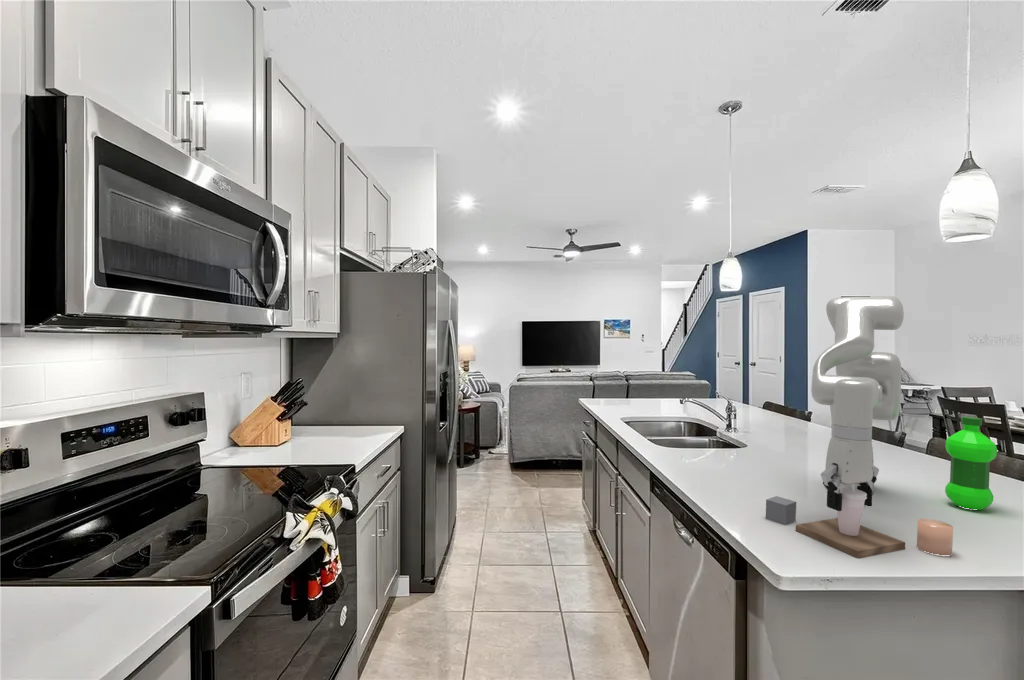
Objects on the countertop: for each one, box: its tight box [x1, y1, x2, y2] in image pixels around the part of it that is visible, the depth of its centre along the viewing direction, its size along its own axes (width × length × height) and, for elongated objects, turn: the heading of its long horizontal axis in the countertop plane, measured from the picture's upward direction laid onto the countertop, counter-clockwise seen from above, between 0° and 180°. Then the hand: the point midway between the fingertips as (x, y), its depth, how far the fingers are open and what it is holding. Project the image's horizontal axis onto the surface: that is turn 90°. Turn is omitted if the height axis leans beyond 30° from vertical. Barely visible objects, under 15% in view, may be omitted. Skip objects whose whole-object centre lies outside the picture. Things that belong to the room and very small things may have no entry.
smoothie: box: [836, 484, 867, 536], centre depth 115 cm, size 6×6×14 cm
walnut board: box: [795, 517, 906, 559], centre depth 115 cm, size 15×15×2 cm
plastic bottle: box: [944, 416, 998, 511], centre depth 137 cm, size 10×10×25 cm
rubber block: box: [765, 495, 797, 526], centre depth 126 cm, size 5×5×5 cm
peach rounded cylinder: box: [916, 518, 954, 555], centre depth 109 cm, size 6×6×6 cm
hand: (849, 506), depth 114 cm, fingers open, 9 cm apart
